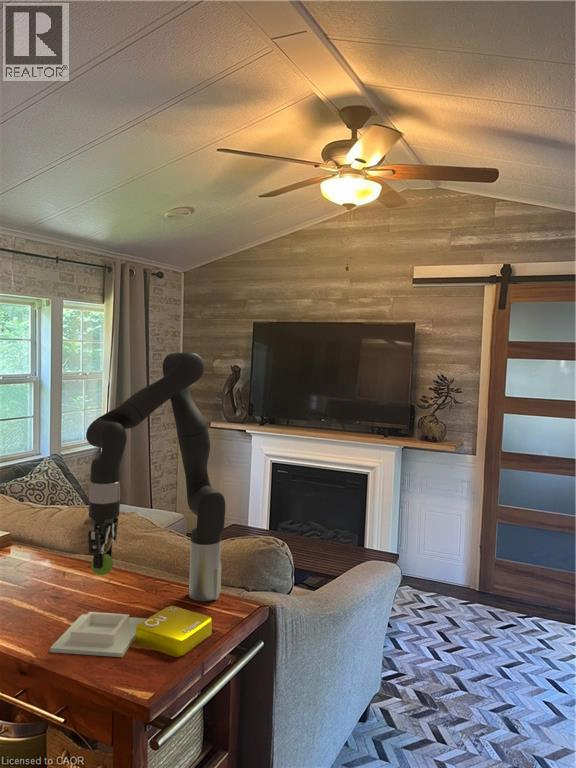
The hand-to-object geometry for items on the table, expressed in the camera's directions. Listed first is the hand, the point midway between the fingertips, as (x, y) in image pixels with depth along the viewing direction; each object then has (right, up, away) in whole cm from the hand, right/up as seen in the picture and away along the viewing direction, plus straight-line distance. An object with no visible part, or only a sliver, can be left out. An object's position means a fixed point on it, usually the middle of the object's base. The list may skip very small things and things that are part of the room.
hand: (102, 563), depth 140 cm
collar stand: (-1, -19, +1) cm, 19 cm away
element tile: (+18, -20, +2) cm, 27 cm away
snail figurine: (0, -3, +1) cm, 3 cm away
